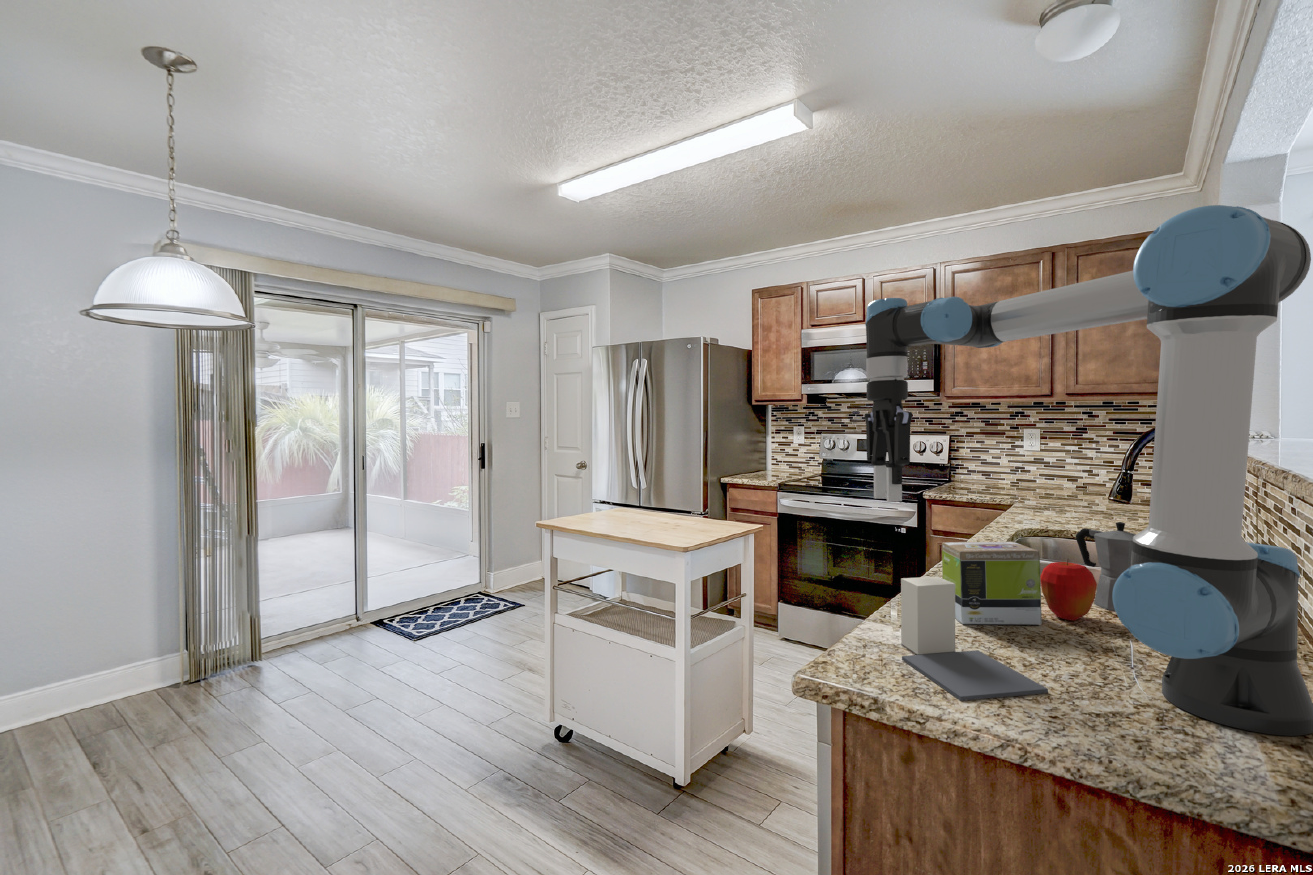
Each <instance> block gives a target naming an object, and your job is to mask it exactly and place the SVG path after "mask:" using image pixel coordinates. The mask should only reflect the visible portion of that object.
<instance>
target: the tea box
mask: <svg viewBox="0 0 1313 875" xmlns="http://www.w3.org/2000/svg"><path fill="white" fill-rule="evenodd" d="M941 564H942V568H941V569H942V571H941V572H942V579H945V580H947V581H950V582H952V583H954V584H955V621H958V623H960V624H962V625H1023V626H1024V625H1027V626H1028V625H1030V626H1035V625H1037V626H1039V625H1040V626H1041V625H1042V623H1043V622H1042V588H1041V580H1040V576H1041V555H1040V550H1037V549H1035V548H1031V547H1029V546H1026V545H1023V544H1020V543H1018V542H1016V541H958V542H957V541H955V542H953V541H951V542H950V541H946V542H945V541H943V542H942V543H941Z"/></svg>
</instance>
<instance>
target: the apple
mask: <svg viewBox="0 0 1313 875" xmlns="http://www.w3.org/2000/svg"><path fill="white" fill-rule="evenodd" d="M1040 580H1041V594H1042V595H1043V597H1044V599H1045V602H1046V604H1047V607H1048V609H1049V610H1050V611H1051V612H1052V613H1053V614H1054V615H1055V616H1056V617H1058V618H1060V619H1062V620H1067V621H1077V620H1080V619H1081V618H1083V617H1084V616H1086V615H1088V614H1089V612H1090V610H1091V608H1092V606H1093V603H1094V601H1095V596H1096V591H1097V587H1098V583H1097V581H1096V579H1095V576H1094V574H1093V572H1092V571H1091V570H1090V569H1089V568H1088V567H1087V566H1085V565H1082V564H1080V563H1073V562H1069V559H1067V561H1053V562H1050V563H1049V564H1047V565H1046V566H1045V567H1044V568H1043V569H1042V571H1041V572H1040Z"/></svg>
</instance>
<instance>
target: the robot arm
mask: <svg viewBox="0 0 1313 875" xmlns="http://www.w3.org/2000/svg"><path fill="white" fill-rule="evenodd" d="M1311 261H1312V254H1311V250H1310V246H1309V243H1308V242H1307V240H1306V238H1305V236H1303V234H1301V233H1300V232H1299V231H1298V230H1297V229H1296V228H1294V227H1292V226H1291V225H1288V224H1286V223H1284V222H1282V221H1281V222H1280V221H1278V220H1274V219H1270V218H1267V217H1264V216H1262V215H1260V214H1259V213H1258V212H1256V211H1254V210H1252V209H1250V208H1246V207H1243V206H1233V205H1232V206H1231V205H1220V204H1212V205H1203V206H1198V207H1194V208H1190V209H1188V210H1186V211H1185V210H1184V211H1182V212H1180V213H1178V214H1176V215H1173V216H1172V217H1170V218H1169V219H1167V220H1165V221H1164V222H1163V223H1161V224H1160V225H1159V226H1157V228H1155V230H1153V231H1152V233H1150V234H1149V235H1147V237H1146V238H1145V240H1144V241H1143V243H1142V244H1141V246H1140V247H1139V249H1138V251H1137V253H1136V256H1135V258H1134V260H1133V267H1132V268H1133V269H1132V270H1130V271H1125V272H1120V273H1116V274H1112V275H1108V276H1103V277H1099V278H1094V279H1090V280H1086V281H1081V282H1077V283H1071V284H1069V285H1064V286H1060V287H1055V288H1051V289H1045V290H1042V291H1037V292H1034V293H1028V294H1024V295H1020V296H1015V297H1012V298H1006V299H1003V300H999V301H994V302H990V303H985V304H981V305H974V304H973V305H972V304H969V303H968V302H966V301H965V300H964V298H962V297H960V296H950V297H938V298H935V299H933V300H929V301H924V302H920V303H916V304H911V305H908V302H907V300H906V299H904V298H901V297H886V298H879V299H874V300H873V301H871V302H869V303H868V305H867V306H866V317H865V324H864V326H865V334H866V336H865V337H866V338H865V340H866V360H865V364H866V368H865V369H866V370H865V371H866V379H867V380H869V381H868V382H867V383H866V400H867V401H870V402H872V409H871V412H869V413H867V412H866V413H864V420H865V422H864V423H865V428H866V429H865V431H866V432H865V433H866V438H865V439H866V460H867V462H871V465H872V466H873V499H886V502H890V503H891V502H894V503H895V502H903V486H902V485H903V468H904V467H905V466H906V465H910V463H911V422H912V420H913V413H912V411H905V410H904V407H903V404H902V403H903V402H902V401H904V400H907V399H908V396H909V383H908V381H907V380H905V378H908V368H909V363H908V356H909V355H908V351H909V347H915V346H921V345H931V344H933V345H946V346H947V345H948V346H961V347H973V348H977V349H983V348H984V349H986V348H987V349H988V348H994V347H997V346H1000V345H1002V344H1003V343H1005V342H1011V341H1017V340H1024V339H1030V338H1035V337H1036V338H1037V337H1043V336H1048V335H1054V334H1060V333H1062V334H1063V333H1067V332H1072V331H1073V332H1074V331H1079V330H1086V329H1093V328H1099V327H1100V328H1101V327H1106V326H1111V325H1116V324H1117V325H1118V324H1124V323H1129V322H1130V323H1131V322H1138V321H1142V320H1146V329H1147V330H1149V331H1150V332H1151V333H1152V334H1153V335H1155V336H1156V337H1157V338H1158V339H1159V340H1160V353H1159V355H1160V356H1159V357H1160V358H1159V370H1158V383H1157V384H1158V386H1157V387H1158V388H1157V398H1156V400H1157V401H1156V411H1155V412H1156V414H1155V415H1156V416H1155V427H1154V429H1155V430H1154V443H1153V444H1154V445H1153V456H1152V457H1153V458H1152V470H1151V471H1152V474H1151V487H1150V499H1149V500H1150V501H1149V515H1148V525H1147V526H1146V528H1145V529H1143V530H1141V531H1140V532H1138V533H1135V534H1136V535H1135V536H1134V537H1133V542H1132V555H1131V567H1130V568H1128V569H1127V570H1125V571H1124V572H1123V573H1122V574H1121V575H1120V576H1119V578H1118V579H1117V581H1116V582H1115V584H1114V587H1113V593H1112V599H1113V605H1114V609H1115V611H1114V612H1115V613H1116V615H1117V617H1118V620H1119V621H1120V622H1121V624H1122V626H1123V627H1124V628H1126V629H1127V630H1128V631H1129V632H1130V633H1131V635H1132V636H1133V637H1134V638H1135V639H1136V640H1138V641H1139V642H1141V644H1143V645H1144V646H1147V647H1148V648H1150V649H1152V650H1153V651H1155V652H1157V653H1160V654H1163V655H1166V656H1170V659H1169V661H1168V664H1167V666H1166V669H1165V670H1164V672H1163V673H1162V677H1161V693H1162V696H1163V697H1164V698H1165V699H1166V700H1167V702H1168V701H1169V702H1170V703H1172V704H1173V705H1175V706H1176V707H1177V708H1179V709H1181V710H1184V711H1185V712H1188V713H1190V714H1192V715H1195V716H1197V717H1200V718H1203V719H1205V720H1208V721H1211V722H1214V723H1218V724H1220V725H1223V726H1228V727H1230V728H1236V729H1240V730H1244V731H1249V732H1254V733H1259V734H1265V735H1275V736H1303V735H1305V736H1306V735H1309V734H1312V733H1313V701H1312V697H1311V695H1310V691H1309V690H1308V687H1307V685H1306V684H1307V683H1306V682H1305V679H1304V677H1303V674H1302V672H1301V670H1300V667H1299V664H1298V629H1299V628H1298V626H1299V623H1298V621H1299V579H1300V578H1301V572H1300V570H1299V564H1298V558H1297V555H1296V553H1295V552H1294V551H1293V550H1291V549H1288V548H1285V547H1283V546H1276V545H1270V544H1261V543H1256V542H1248V541H1245V539H1243V537H1242V532H1243V518H1244V508H1245V506H1244V505H1245V492H1246V481H1247V466H1248V457H1249V444H1250V443H1249V440H1250V428H1251V416H1252V404H1253V391H1254V390H1253V389H1254V380H1255V378H1254V376H1255V365H1256V354H1257V353H1256V352H1257V342H1258V341H1257V338H1258V337H1259V335H1260V334H1261V333H1262V332H1263V331H1265V330H1266V329H1267V328H1269V327H1270V326H1272V325H1273V324H1274V323H1276V322H1277V320H1278V310H1279V303H1281V302H1283V301H1284V300H1286V299H1287V298H1288V297H1290V296H1291V295H1292V294H1294V292H1295V291H1297V289H1299V287H1300V286H1301V285H1302V283H1303V281H1304V280H1305V279H1306V278H1307V275H1308V272H1309V271H1310V269H1311V267H1310V266H1311ZM887 457H888V460H887Z"/></svg>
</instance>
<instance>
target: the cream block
mask: <svg viewBox="0 0 1313 875" xmlns="http://www.w3.org/2000/svg"><path fill="white" fill-rule="evenodd" d="M900 584H901V585H900V610H901V611H900V617H901V618H900V620H901V621H900V624H901V628H900V629H901V632H900V633H901V634H900V636H901V640H900V641H901V642H900V644H901V646H902V648H905V649H906V650H907V651H909V652H911V653H913V655H923V654H936V653H949V652H956V619H955V584H954V583H952V582H950V581H947V580H945V579H943V577H940V576H921V577H903V578H900Z"/></svg>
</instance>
